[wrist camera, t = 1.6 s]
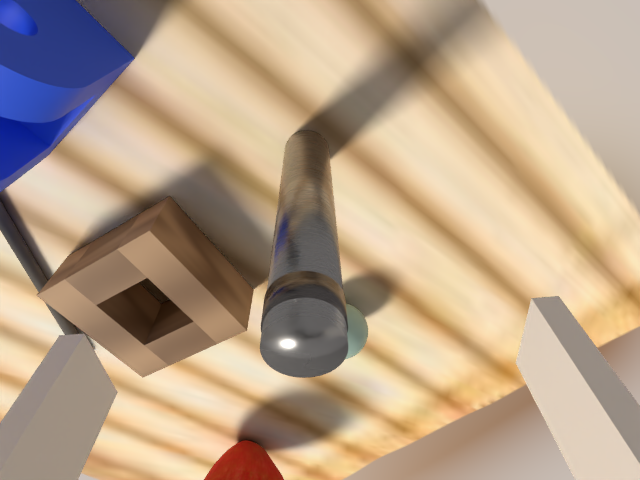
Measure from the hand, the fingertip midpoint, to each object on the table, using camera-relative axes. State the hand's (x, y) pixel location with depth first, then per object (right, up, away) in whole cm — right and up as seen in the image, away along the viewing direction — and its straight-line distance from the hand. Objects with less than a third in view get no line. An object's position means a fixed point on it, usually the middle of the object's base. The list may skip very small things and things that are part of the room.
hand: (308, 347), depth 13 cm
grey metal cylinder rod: (0, +8, +12) cm, 15 cm away
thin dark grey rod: (-19, 0, +17) cm, 26 cm away
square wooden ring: (-11, +1, +17) cm, 20 cm away
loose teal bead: (+2, -2, +19) cm, 19 cm away
